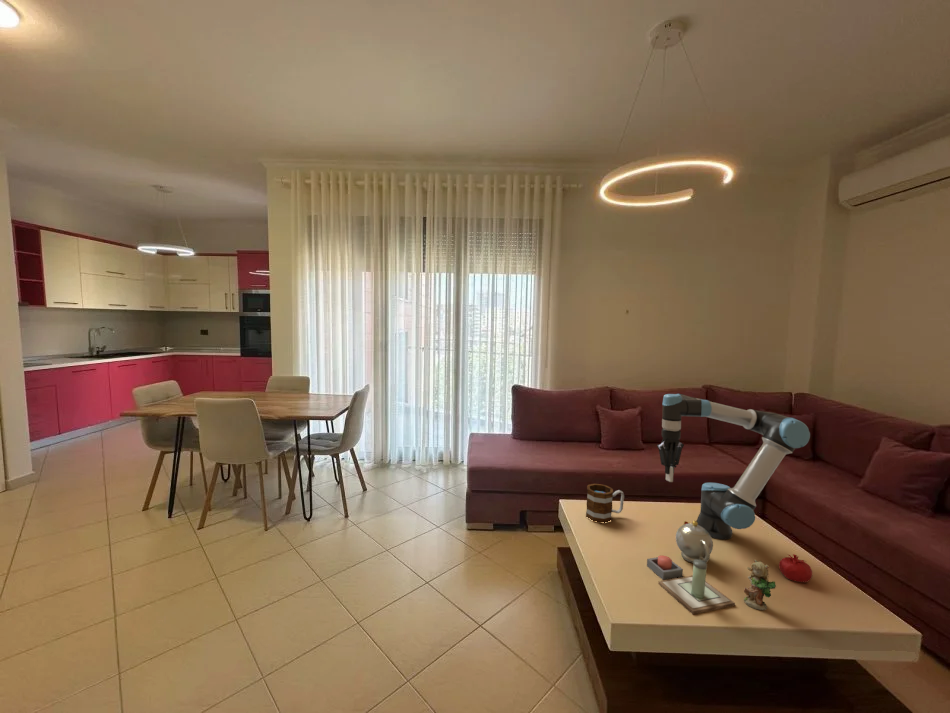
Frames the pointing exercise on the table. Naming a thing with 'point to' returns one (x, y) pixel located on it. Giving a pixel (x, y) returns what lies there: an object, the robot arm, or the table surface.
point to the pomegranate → (795, 569)
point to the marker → (698, 578)
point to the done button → (664, 562)
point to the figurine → (758, 586)
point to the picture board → (682, 594)
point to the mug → (601, 502)
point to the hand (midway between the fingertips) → (669, 480)
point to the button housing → (664, 574)
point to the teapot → (694, 542)
